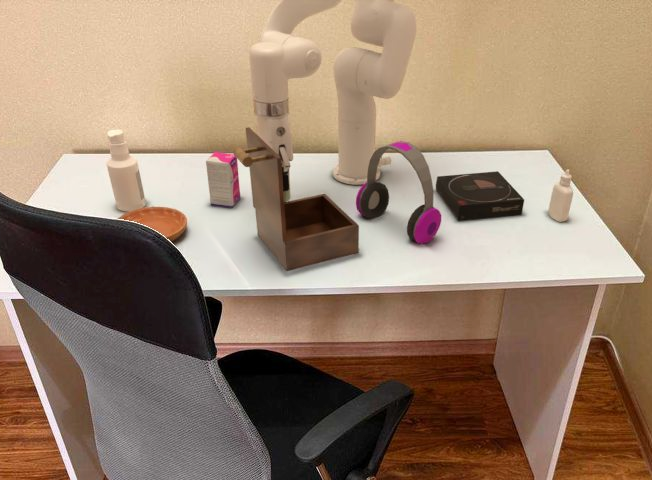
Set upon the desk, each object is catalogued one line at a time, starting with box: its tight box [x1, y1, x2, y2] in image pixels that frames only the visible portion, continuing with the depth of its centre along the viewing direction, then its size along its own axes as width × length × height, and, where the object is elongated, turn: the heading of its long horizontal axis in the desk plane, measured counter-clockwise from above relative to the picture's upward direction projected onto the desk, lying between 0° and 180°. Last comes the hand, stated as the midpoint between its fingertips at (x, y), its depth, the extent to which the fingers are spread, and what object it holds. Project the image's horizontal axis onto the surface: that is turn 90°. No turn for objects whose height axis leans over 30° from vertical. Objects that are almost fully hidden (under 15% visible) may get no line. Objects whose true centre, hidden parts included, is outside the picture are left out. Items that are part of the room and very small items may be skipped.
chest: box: [254, 193, 360, 272], centre depth 144 cm, size 17×17×7 cm
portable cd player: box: [435, 170, 525, 222], centre depth 164 cm, size 16×17×4 cm
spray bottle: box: [106, 129, 147, 212], centre depth 153 cm, size 7×7×18 cm
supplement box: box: [205, 151, 241, 209], centre depth 158 cm, size 6×6×12 cm
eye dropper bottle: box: [547, 169, 574, 223], centre depth 156 cm, size 4×6×12 cm
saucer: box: [117, 206, 188, 243], centre depth 148 cm, size 16×16×3 cm
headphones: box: [355, 140, 442, 245], centre depth 147 cm, size 21×9×20 cm, turn 45°
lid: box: [232, 126, 286, 241], centre depth 131 cm, size 17×17×6 cm
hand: (276, 184), depth 152 cm, fingers closed on canister, 6 cm apart
